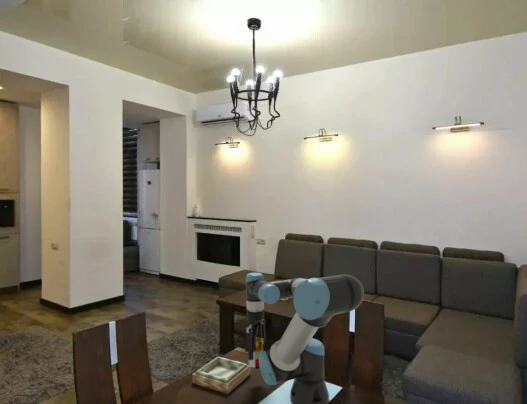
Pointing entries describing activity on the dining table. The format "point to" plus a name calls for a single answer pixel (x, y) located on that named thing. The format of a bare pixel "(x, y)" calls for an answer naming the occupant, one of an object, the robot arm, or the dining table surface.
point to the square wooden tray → (221, 374)
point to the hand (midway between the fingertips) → (256, 363)
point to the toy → (258, 350)
